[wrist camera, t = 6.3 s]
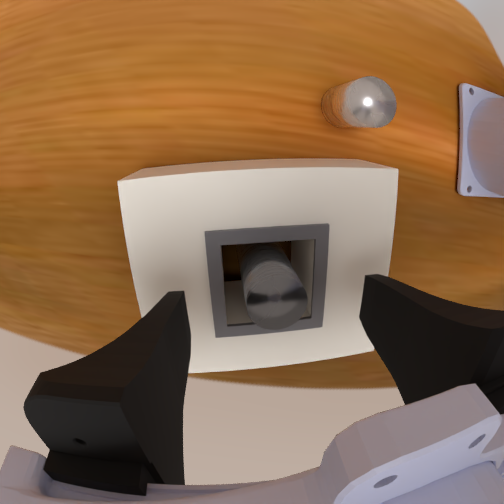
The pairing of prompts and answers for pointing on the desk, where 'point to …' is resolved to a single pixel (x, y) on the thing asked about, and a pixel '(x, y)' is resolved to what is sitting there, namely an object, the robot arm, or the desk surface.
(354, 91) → the short pin
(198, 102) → the desk surface
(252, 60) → the desk surface
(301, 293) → the long pin
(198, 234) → the pin block
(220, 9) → the desk surface
